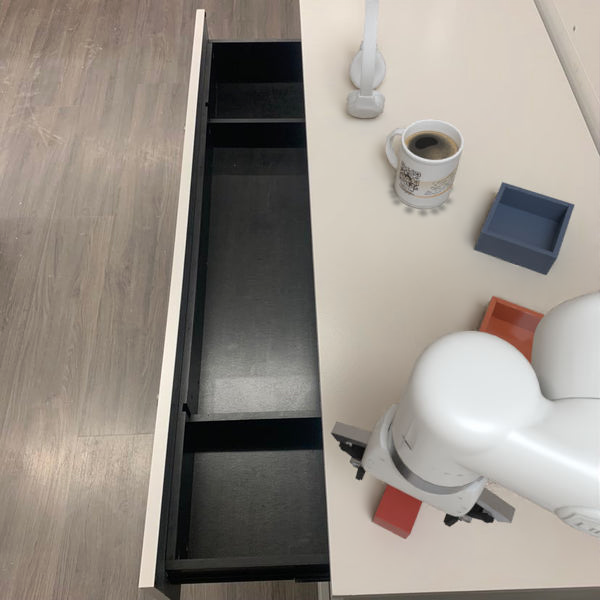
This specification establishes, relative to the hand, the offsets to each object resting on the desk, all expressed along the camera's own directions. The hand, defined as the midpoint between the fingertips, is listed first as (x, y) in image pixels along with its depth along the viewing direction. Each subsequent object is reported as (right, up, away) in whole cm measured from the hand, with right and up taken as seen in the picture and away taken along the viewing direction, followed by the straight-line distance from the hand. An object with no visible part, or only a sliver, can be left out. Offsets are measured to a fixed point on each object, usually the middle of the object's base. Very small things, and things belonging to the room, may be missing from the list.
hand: (406, 488), depth 55 cm
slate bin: (+25, +30, +32) cm, 50 cm away
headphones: (+2, +59, +51) cm, 78 cm away
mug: (+10, +40, +39) cm, 57 cm away
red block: (+1, -7, +11) cm, 13 cm away
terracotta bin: (+19, +11, +21) cm, 31 cm away
